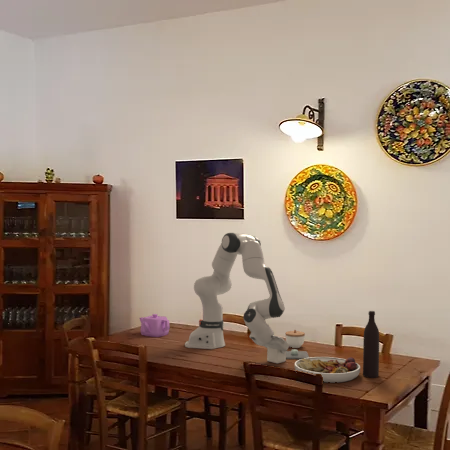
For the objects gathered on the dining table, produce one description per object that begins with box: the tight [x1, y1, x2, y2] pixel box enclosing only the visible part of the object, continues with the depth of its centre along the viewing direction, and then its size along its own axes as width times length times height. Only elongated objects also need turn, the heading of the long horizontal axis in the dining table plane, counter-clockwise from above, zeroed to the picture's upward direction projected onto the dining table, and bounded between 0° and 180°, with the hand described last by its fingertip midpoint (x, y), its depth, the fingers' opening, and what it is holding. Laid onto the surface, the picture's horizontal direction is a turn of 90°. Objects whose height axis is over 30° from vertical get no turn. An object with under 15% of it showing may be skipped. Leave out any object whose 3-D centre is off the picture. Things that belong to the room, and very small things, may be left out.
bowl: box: [294, 356, 361, 384], centre depth 281 cm, size 30×30×8 cm
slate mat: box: [286, 348, 310, 360], centre depth 316 cm, size 14×14×3 cm
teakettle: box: [139, 313, 170, 338], centre depth 367 cm, size 17×17×12 cm
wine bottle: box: [362, 310, 380, 379], centre depth 279 cm, size 7×7×30 cm
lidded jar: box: [285, 329, 306, 349], centre depth 337 cm, size 11×11×9 cm
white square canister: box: [266, 347, 287, 364], centre depth 305 cm, size 7×7×11 cm
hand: (277, 351), depth 305 cm, fingers closed on white square canister, 7 cm apart
